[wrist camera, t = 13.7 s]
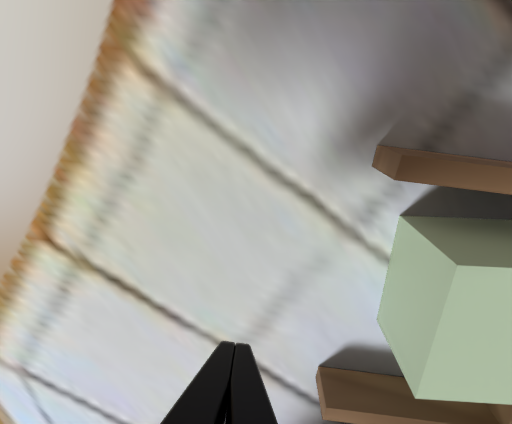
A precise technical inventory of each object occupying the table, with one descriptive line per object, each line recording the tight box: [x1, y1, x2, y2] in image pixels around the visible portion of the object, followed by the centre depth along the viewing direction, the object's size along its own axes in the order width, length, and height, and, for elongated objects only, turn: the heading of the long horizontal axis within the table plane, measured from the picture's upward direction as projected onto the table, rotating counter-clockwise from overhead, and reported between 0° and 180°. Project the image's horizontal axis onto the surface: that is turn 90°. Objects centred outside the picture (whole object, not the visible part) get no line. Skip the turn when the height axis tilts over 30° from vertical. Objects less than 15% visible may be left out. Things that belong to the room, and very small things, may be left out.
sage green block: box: [377, 215, 512, 405], centre depth 12 cm, size 6×6×4 cm
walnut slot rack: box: [316, 145, 512, 424], centre depth 15 cm, size 21×10×2 cm, turn 173°
